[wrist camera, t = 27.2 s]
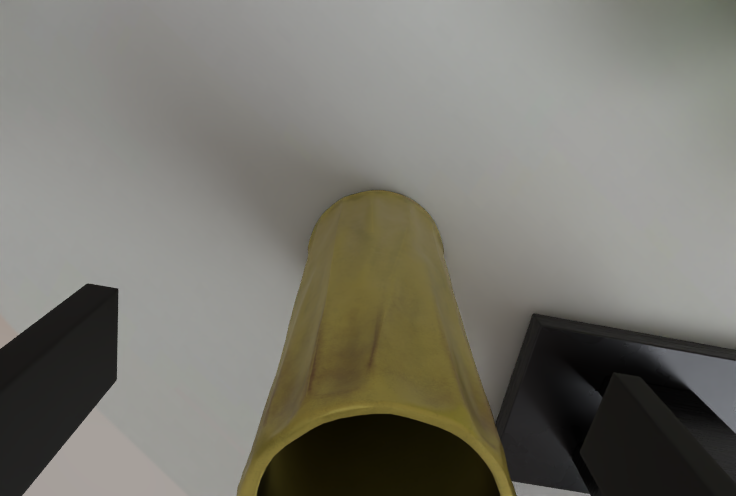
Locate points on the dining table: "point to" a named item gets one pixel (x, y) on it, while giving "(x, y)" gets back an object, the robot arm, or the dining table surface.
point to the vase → (376, 370)
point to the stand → (587, 387)
